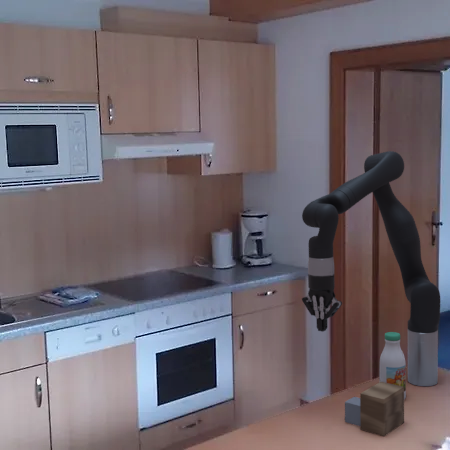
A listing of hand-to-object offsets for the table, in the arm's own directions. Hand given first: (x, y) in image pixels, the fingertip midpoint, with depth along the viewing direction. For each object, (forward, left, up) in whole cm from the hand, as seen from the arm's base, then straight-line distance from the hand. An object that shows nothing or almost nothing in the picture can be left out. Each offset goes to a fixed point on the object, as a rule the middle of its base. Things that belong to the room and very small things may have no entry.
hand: (322, 330), depth 199 cm
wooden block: (+2, +20, -23) cm, 31 cm away
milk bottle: (-18, +13, -23) cm, 32 cm away
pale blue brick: (+3, +17, -23) cm, 29 cm away
